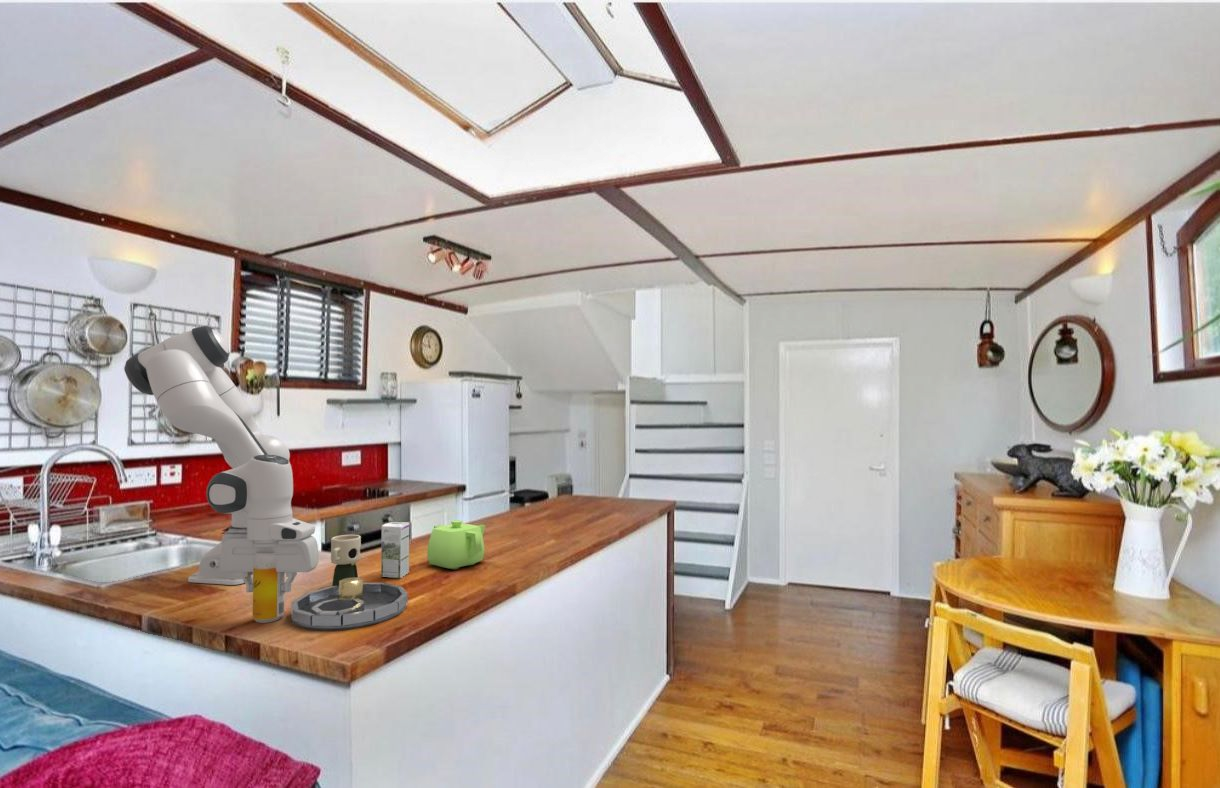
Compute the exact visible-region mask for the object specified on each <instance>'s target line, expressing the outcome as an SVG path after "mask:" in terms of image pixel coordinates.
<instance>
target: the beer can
mask: <svg viewBox="0 0 1220 788" xmlns="http://www.w3.org/2000/svg"><path fill="white" fill-rule="evenodd" d="M275 554H276V552H273V553H257V552H256V554H255V556H254V565H253V592H252V619H253V620H254V621H255V622H256V623H258V622H259V623H260V624H264V623H273V622H276V621H278V620H280V619H281V618H282V616H283V615H284V614H285V592H281V584H283V583H285V582H286V580H285V579H286V572H276V556H275Z"/></svg>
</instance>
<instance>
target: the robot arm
mask: <svg viewBox="0 0 1220 788" xmlns="http://www.w3.org/2000/svg"><path fill="white" fill-rule="evenodd" d="M230 355H231V354H230V350H229V345H228V342H227V340H226V339H225V337H224V336H223V335H222V334H221V333H220V332H218V331H217V330H216V329H214V328H213V327H212V326H211V327H210V326H208V325H203V326H202V325H201V326H197V327H193V328H191V330H189V331H185V332H181V333H178V334H176V335H173V336H171V337H168V338H165V339H163V341H161V342H159V343H156V344H155V345H153V346H151V347H149V348H147V349H145V350H143V351H142V352H140V353H139V352H138V353H135V354H134V355H132V356H131V357H130V358H128V359H127V360H126V361H125V364H124V366H123V367H124V368H123V370H124V373H125V375H126V377H127V380H128V382H129V383H130V384H131V385H132V387H134V388H135V389H136V390H138V391H139V392H140V393H141V394H145V395H151V396H154V399H155V400H156V402H157V405H158V407H159V409H160V410H161V412H162V414H163V415H164V417H165V418H166V419H167V421H168V422H169V423H170V424H171V425H172V426H174V428H176V429H179V430H181V431H185V432H187V433H191V434H192V433H193V434H196V435H201V436H204V437H207V438H211V439H214V440H215V443H216V444H217V447H218V448H219V450H220V453H222V456H223V458H224V460H225V463H227V464H228V465H229V467H231V469H228V470H225V471H224V470H223V471H221V472H218V473H216V474H214V475H213V476H212V477H211V479H210V480H209V482H208V484H207V486H206V494H205V495H206V500H207V503H208V504H209V507H211V509H212V510H214V511H215V512H217V513H219V514H227V515H228V514H229V515H230V514H231V525H230V526H228V527H226V528H224V529H221V530H220V531H221V535H222V536H221V542H219V543H218V544H216V546H214V547H213V548H212V549H210V550H208V552H205V554H204V555H203V556H202V557H201V558H200V562H199V566H198V571H196V572H195V573H193V574H191V575H190V576H188V578H187V579H188V580H187V582H188V583H196V584H197V583H198V584H213V585H227V586H237V585H240V584H245V586H246V589H245V590H246V593H253V565H254V556H255V554H256V552H257V553H273V552H276V554H275V556H276V572H285V578H287V579H286V580H285V583H283V584H281V592H284V593H289V592H291V591H292V583H293V582H294V580H295V578H296V576H297V574H298V573H309V572H311V571H314V570H316V568H317V567H318V566H319V547H318V546H319V545H318V542H317V539H316V537H315V536H313V535H314V534H315V531H316V526H315V525H314V524H312V523H308V522H305V521H302V520H299V519H297V518H294V517H293V515H294V513H293V509H292V498H293V496H294V477H293V475H294V474H293V469H292V465H291V462H290V457H291V455H290V450H289V447H288V446H287V444H286V443H285V442H283V441H282V440H281V439H279V438H278V437H275V436H272V435H267V434H263V433H262V432H261V431H260V429H259V427H258V425H257V423H256V420H255V418H254V415H253V410H252V408H251V406H250V404H249V403H248V402H247V401H246V398H245V397H244V396H243V395H242V393H241V391H240V390H239V389H238V388H237V386H236V385H235V383H234V382H233V380H232V379H231V378H230V376H229V375H228V374H227V372H225V370H223V368H224V367H225V363H226V362H227V361H228V360H229V357H230Z"/></svg>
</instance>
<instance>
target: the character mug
mask: <svg viewBox="0 0 1220 788" xmlns="http://www.w3.org/2000/svg"><path fill="white" fill-rule="evenodd" d="M330 539H331V540H330V541H331V542H330V563H331V564H332V565H333V564H334V565H335V567H334V571H333V576H332V583H331V586H338V585H339V581H340V580H342V579H345V578H352V577H359V576H358V566H357V563H358V562H360V561H361V558H362V555H361V545H362V543H361V542H362V540H361V539H362V536H361V535H359V534H343V535H341V534H340V535H336V536H333V537H331V538H330Z"/></svg>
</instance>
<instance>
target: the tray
mask: <svg viewBox="0 0 1220 788" xmlns="http://www.w3.org/2000/svg"><path fill="white" fill-rule="evenodd" d="M408 596H409V594H408V592H407V590H405V588H404V587H403V586H401V585H396V584H392V583H386V582H364V579H363V577H359V576H358V577H352V578H345V579H342V580H340V581H339V585H338V586H332V585H331V586H327V587H324V588H321V589H317V590H313V591H310V592H309V591H308V592H306V593H304V594H303V595H300V596H299V597H297V598H296V599H294V600H293V601H291V602H290V614H291V615H290V616H291V622H292V623H291V624H294V625H295V626H296V627H299V628H301V629H305V630H311V631H344V630H352V629H353V630H354V629H359V628H364V627H369V626H372V625H373V624H374V625H376V624H380V623H383V621H384V622H386V621H389V620H391V619H394V618H395V617H397V616H399V615H401V614H402V613H403V612H404V611H405V610H406V608H407V604H408V603H409V602H408V601H409V597H408ZM401 612H402V613H401Z"/></svg>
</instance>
